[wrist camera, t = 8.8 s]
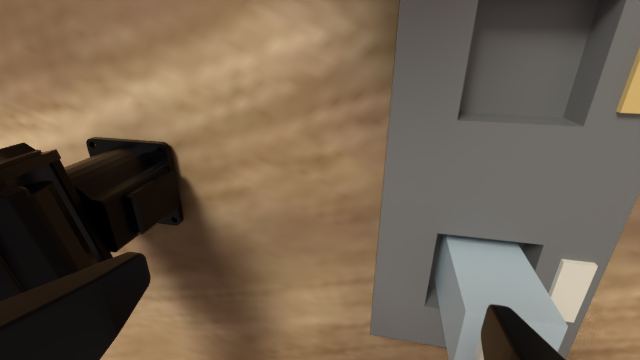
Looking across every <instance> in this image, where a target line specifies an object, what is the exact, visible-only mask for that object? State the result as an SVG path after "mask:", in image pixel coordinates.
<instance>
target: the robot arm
mask: <svg viewBox="0 0 640 360" xmlns="http://www.w3.org/2000/svg"><path fill="white" fill-rule="evenodd" d="M86 143H87V148H88V151H89V154H90V158H87V159H85V160H82V161H79V162H77V163H74V164H72V165H69V166H67V167H63V165H62V163H61V161H60V159H61V157H60V155H59V153H58V151H57V150H56V149H55V150H51V151H46V152H41V150H35V149H33V148H32V147H30V146H29V145H27V144H25V143H20V144H16V145H13V146H9V147H6V148H2V149H0V360H100V359H101V357H102V356H103V355H104V353H105V352H106V350H107V349H108V348H109V346H110V345H111V344H112V342H113V341H114V340H115V338H116V337H117V335H118V334H119V332H120V331H121V329H122V328H123V326H124V324H125V323H126V321H127V320H128V318H129V316H130V315H131V313H132V312H133V310H134V308H135V307H136V305H137V304H138V302H139V300H140V299H141V297H142V295H143V294H144V292H145V291H146V289H147V287H148V286H149V283H150V273H149V269H148V265H147V261H146V258H145V256H144V255H143V254H141V253H135V252H127V253H124V254H122V255H119V256H116V257H114V258H113V256H112V255H111V253H110V252H117V251H118V250H120V249H121V248H122V247H124V246H125V245H126V244H127V243H129V242H130V241H131V240H133V239H134V238H135V237H137V236H138V235H139V234H144V233H145V232H147V231H148V230H149V229H150V228H152V227H153V226H154V225H155V224H157V223H160V224H168V225H179V224H180V223H181V222H182V221H183V214H182V208H181V202H180V197H179V191H178V186H177V181H176V175H175V171H174V166H173V160H172V155H171V150H170V147H169V145H168V144H166V143H165V142H156V141H142V140H128V139H114V138H100V137H93V138H90V139H88V140H87V142H86ZM95 145H96V146H95ZM161 148H162V149H163V150H164V152H163V151H162V150H161ZM175 217H176V218H177V219H175ZM481 344H482V350H483V357H484V360H565V359H564V358H563V357H562V356H561V355H560V354H559V353H558V352H557V351H556V350H555V349H554V348H553V347H552V346H551V345H550V344H548V343H547V342H546V341H545V340H544V339H543V338H542V337H541V336H540V335H539V334H538V333H537V332H536V331H535V330H534V329H533V328H531V327H530V326H529V325H528V324H527V323H526V322H525V321H524V320H523V319H522V318H521V317H520V316H519V315H518V314H517V313H516V312H514V311H513V310H512V309H511V308H510V307H507V306H502V305H495V304H491V305H489V306H488V308H487V311H486V314H485V318H484V321H483V325H482V328H481Z"/></svg>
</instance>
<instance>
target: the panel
mask: <svg viewBox="0 0 640 360" xmlns="http://www.w3.org/2000/svg"><path fill="white" fill-rule="evenodd" d="M639 192H640V0H400V5H399V16H398V27H397V38H396V49H395V60H394V71H393V81H392V92H391V103H390V114H389V125H388V136H387V147H386V158H385V169H384V180H383V191H382V202H381V213H380V224H379V235H378V246H377V257H376V268H375V279H374V290H373V301H372V313H371V325H370V335H375V336H380V337H386V338H392V339H398V340H404V341H410V342H415V343H421V344H427V345H433V346H439V347H445V348H446V342H445V336H444V331H443V325H442V319H441V313H440V308H439V302H438V296H437V290H436V285H435V279H434V277H435V272H436V266H437V261H438V255H439V250H440V244H441V239H442V234H449V235H458V236H467V237H476V238H485V239H494V240H503V241H512V242H517V243H518V245H519V246H520V248H521V250H522V251H523V253H524V255H525V256H526V258H527V260H528V261H529V263H530V265H531V266H532V268H533V269H534V271H535V273H536V274H537V276H538V278H539V279H540V281H541V283H542V284H543V286H544V287H545V289H546V291H547V292H548V294H549V296H550V297H551V299H552V301H553V302H554V304H555V306H556V307H557V309H558V310H559V312H560V314H561V315H562V317H563V319H564V320H565V322H566V324H567V325H568V328H567V331H566V333H565V335H564V338H563V340H562V343H561V345H560V347H559V350H558V353H559V354H560V355H561V356H562V357H563V358H564V359H566V357H567V355H568V353H569V350H570V348H571V346H572V344H573V341H574V339H575V337H576V335H577V332H578V330H579V328H580V326H581V323H582V321H583V319H584V316H585V314H586V312H587V310H588V307H589V305H590V303H591V301H592V298H593V296H594V294H595V292H596V289H597V287H598V285H599V283H600V280H601V278H602V276H603V274H604V271H605V269H606V267H607V265H608V262H609V260H610V258H611V256H612V253H613V251H614V249H615V247H616V244H617V242H618V240H619V237H620V235H621V233H622V231H623V228H624V226H625V224H626V222H627V219H628V217H629V215H630V213H631V210H632V208H633V206H634V204H635V201H636V199H637V197H638V195H639Z"/></svg>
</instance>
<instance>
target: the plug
mask: <svg viewBox="0 0 640 360" xmlns="http://www.w3.org/2000/svg"><path fill="white" fill-rule="evenodd" d="M434 279H435V285H436V290H437V296H438V302H439V308H440V313H441V319H442V325H443V331H444V336H445V342H446V348H447V354H448V359H449V360H484V357H483V350H482V344H481V328H482V325H483V321H484V318H485V314H486V311H487V308H488V306H489V305H491V304H495V305H502V306H507V307H510V308H511V309H512V310H513V311H514V312H516V313H517V314H518V315H519V316H520V317H521V318H522V319H523V320H524V321H525V322H526V323H527V324H528V325H529V326H530V327H531V328H533V329H534V330H535V331H536V332H537V333H538V334H539V335H540V336H541V337H542V338H543V339H544V340H545V341H546V342H547V343H548V344H550V345H551V346H552V347H553V348H554V349H555V350H556V351H557V352H558V350H559V347H560V345H561V343H562V340H563V338H564V335H565V333H566V331H567V328H568V325H567V324H566V322H565V320H564V319H563V317H562V315H561V314H560V312H559V310H558V309H557V307H556V306H555V304H554V302H553V301H552V299H551V297H550V296H549V294H548V292H547V291H546V289H545V287H544V286H543V284H542V283H541V281H540V279H539V278H538V276H537V274H536V273H535V271H534V269H533V268H532V266H531V265H530V263H529V261H528V260H527V258H526V256H525V255H524V253H523V251H522V250H521V248H520V246H519V245H518V243H517V242H512V241H503V240H494V239H485V238H476V237H467V236H458V235H449V234H442V239H441V244H440V250H439V255H438V261H437V266H436V272H435V277H434Z"/></svg>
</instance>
